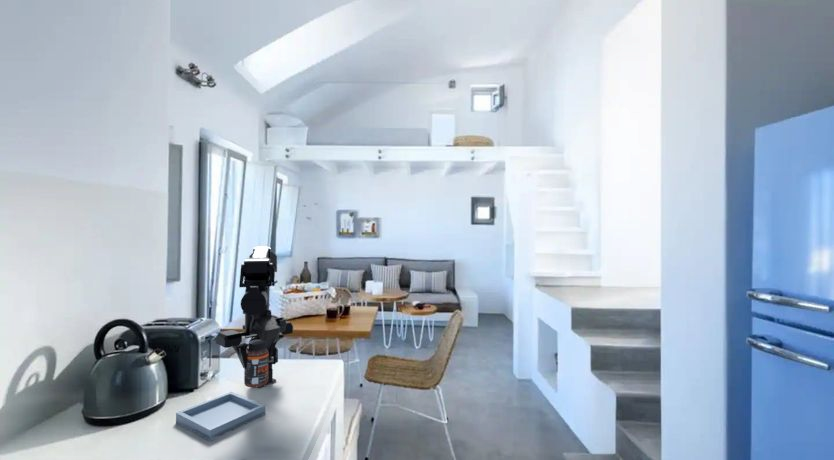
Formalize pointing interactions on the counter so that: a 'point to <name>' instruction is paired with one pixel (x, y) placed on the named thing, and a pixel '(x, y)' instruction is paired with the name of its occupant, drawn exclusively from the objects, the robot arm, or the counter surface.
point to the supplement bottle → (256, 364)
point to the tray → (220, 415)
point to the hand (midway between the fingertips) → (256, 364)
